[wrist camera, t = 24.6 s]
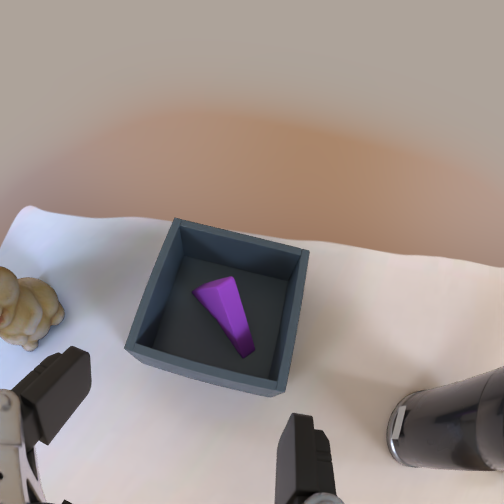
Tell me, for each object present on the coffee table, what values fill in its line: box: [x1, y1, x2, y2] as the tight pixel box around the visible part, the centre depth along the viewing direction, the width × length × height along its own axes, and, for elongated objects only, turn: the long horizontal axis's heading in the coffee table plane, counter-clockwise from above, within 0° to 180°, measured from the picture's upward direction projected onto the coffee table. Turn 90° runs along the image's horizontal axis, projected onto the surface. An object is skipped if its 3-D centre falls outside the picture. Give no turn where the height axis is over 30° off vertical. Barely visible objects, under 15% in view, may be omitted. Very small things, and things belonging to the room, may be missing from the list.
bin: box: [124, 218, 309, 397], centre depth 30 cm, size 14×14×7 cm
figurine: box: [0, 267, 65, 351], centre depth 23 cm, size 10×8×15 cm
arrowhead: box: [192, 276, 255, 358], centre depth 30 cm, size 10×2×10 cm
